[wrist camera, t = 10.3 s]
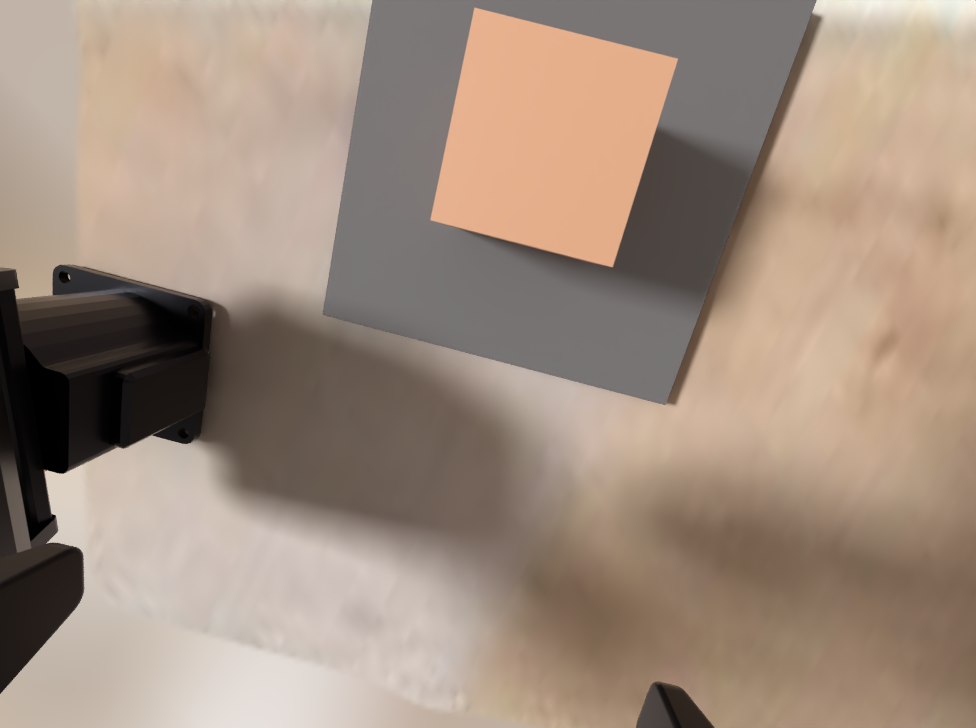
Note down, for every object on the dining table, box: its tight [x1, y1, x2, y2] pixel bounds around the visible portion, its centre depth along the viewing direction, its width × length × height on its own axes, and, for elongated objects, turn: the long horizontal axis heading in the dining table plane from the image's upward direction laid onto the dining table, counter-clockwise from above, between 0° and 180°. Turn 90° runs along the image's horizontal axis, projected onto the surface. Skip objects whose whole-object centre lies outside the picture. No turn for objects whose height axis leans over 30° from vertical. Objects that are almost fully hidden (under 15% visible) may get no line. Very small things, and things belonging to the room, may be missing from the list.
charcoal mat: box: [323, 0, 816, 405], centre depth 17 cm, size 14×14×1 cm
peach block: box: [430, 8, 678, 267], centre depth 14 cm, size 5×5×5 cm
